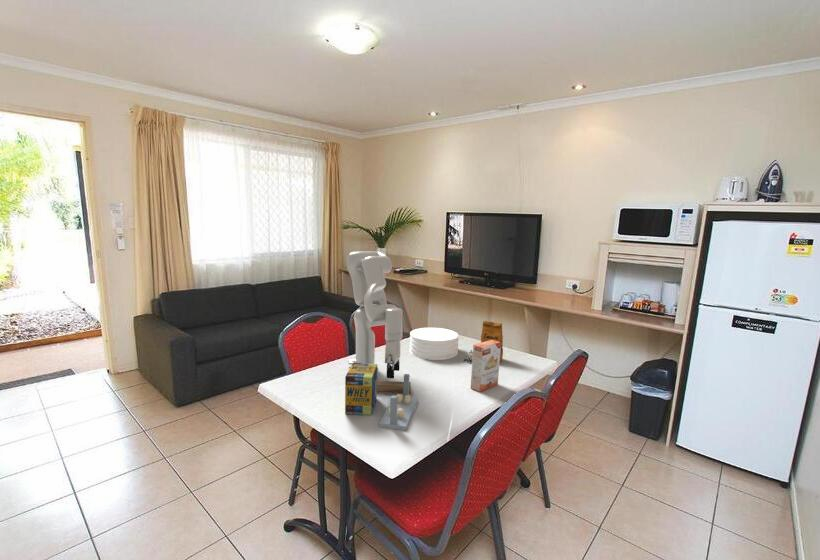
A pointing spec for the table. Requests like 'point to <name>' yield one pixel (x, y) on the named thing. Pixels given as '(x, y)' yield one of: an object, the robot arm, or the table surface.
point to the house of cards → (468, 359)
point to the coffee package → (492, 333)
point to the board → (391, 387)
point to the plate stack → (433, 343)
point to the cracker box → (485, 365)
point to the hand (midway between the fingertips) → (393, 374)
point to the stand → (399, 409)
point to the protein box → (360, 389)
